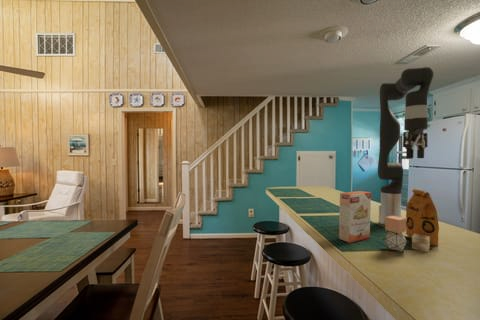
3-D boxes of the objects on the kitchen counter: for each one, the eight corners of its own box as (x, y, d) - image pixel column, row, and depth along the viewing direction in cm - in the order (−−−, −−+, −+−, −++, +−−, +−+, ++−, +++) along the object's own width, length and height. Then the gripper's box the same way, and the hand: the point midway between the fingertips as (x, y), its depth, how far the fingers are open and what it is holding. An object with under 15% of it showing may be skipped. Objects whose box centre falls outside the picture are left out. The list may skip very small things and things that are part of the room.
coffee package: (414, 244, 99) (415, 192, 99) (402, 235, 111) (403, 188, 111) (443, 247, 97) (444, 193, 96) (427, 237, 108) (428, 189, 108)
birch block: (411, 248, 95) (412, 236, 95) (414, 245, 99) (414, 233, 99) (427, 252, 92) (427, 239, 92) (429, 248, 95) (429, 236, 95)
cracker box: (350, 243, 101) (350, 194, 100) (338, 239, 106) (338, 192, 105) (371, 238, 107) (371, 192, 106) (359, 234, 112) (359, 190, 112)
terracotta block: (385, 229, 94) (385, 217, 94) (392, 227, 97) (392, 215, 97) (398, 233, 90) (399, 220, 90) (405, 231, 92) (406, 218, 92)
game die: (388, 258, 95) (373, 234, 99) (407, 250, 95) (391, 226, 100) (399, 256, 87) (382, 230, 92) (420, 247, 87) (401, 221, 92)
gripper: (414, 120, 102) (413, 158, 103) (396, 118, 95) (395, 158, 96) (435, 118, 96) (434, 158, 96) (417, 115, 89) (416, 158, 89)
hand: (415, 158), depth 96 cm, fingers open, 8 cm apart
